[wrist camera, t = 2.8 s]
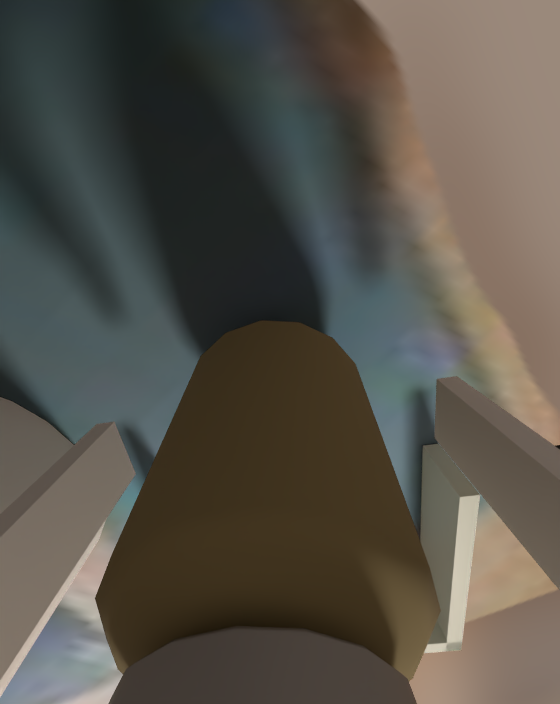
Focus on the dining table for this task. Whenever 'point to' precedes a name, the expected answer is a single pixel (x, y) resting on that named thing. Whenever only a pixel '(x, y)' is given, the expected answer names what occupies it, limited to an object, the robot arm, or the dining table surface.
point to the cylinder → (18, 475)
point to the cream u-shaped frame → (447, 542)
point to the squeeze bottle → (269, 540)
